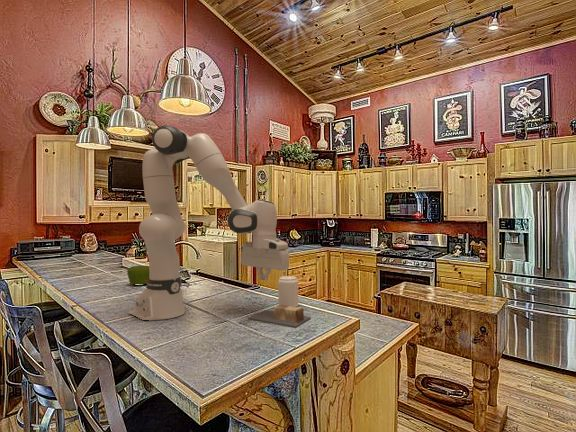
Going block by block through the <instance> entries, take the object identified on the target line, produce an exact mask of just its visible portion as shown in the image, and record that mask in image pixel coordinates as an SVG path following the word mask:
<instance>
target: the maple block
mask: <svg viewBox="0 0 576 432" xmlns="http://www.w3.org/2000/svg"><path fill="white" fill-rule="evenodd" d="M273 311H274V319H280V320H285V321H291V322H297V323H299V322H300V321H302V320H304V316H305V315H304V311H305V310H304V307H299V306H297V307H291V306H285V305H279V304H278V305H276V306H274V307H273Z"/></svg>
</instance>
